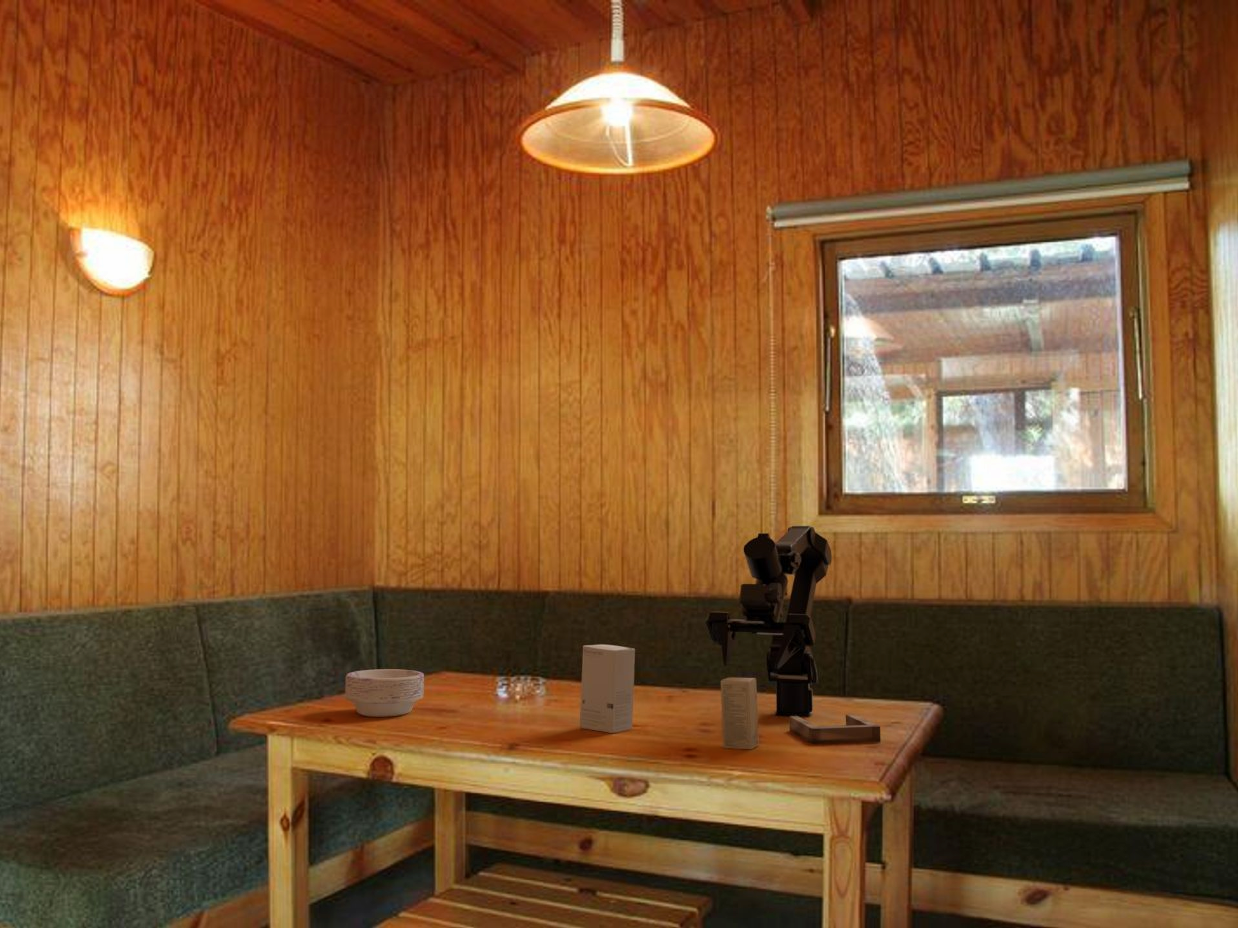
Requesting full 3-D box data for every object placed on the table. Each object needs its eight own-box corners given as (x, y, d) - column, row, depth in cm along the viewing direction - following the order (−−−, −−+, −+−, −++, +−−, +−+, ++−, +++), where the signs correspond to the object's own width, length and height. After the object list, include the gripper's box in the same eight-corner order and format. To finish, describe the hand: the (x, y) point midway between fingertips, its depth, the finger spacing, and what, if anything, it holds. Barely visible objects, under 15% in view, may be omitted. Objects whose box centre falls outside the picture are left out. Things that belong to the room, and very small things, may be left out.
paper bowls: (439, 712, 206) (439, 672, 207) (374, 723, 195) (375, 680, 196) (393, 704, 217) (393, 665, 217) (329, 714, 205) (330, 673, 206)
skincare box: (579, 728, 189) (579, 645, 190) (601, 723, 193) (600, 642, 194) (614, 734, 183) (614, 648, 184) (636, 729, 188) (635, 645, 189)
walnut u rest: (789, 730, 186) (789, 716, 186) (853, 728, 187) (853, 713, 188) (812, 743, 174) (811, 728, 174) (880, 741, 176) (880, 726, 176)
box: (759, 745, 173) (758, 677, 174) (751, 750, 169) (750, 681, 170) (729, 742, 175) (728, 676, 176) (720, 747, 171) (719, 679, 172)
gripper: (708, 566, 189) (687, 633, 178) (810, 567, 181) (794, 637, 170) (723, 607, 195) (703, 674, 184) (821, 610, 187) (807, 680, 177)
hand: (750, 666), depth 179 cm, fingers open, 9 cm apart
